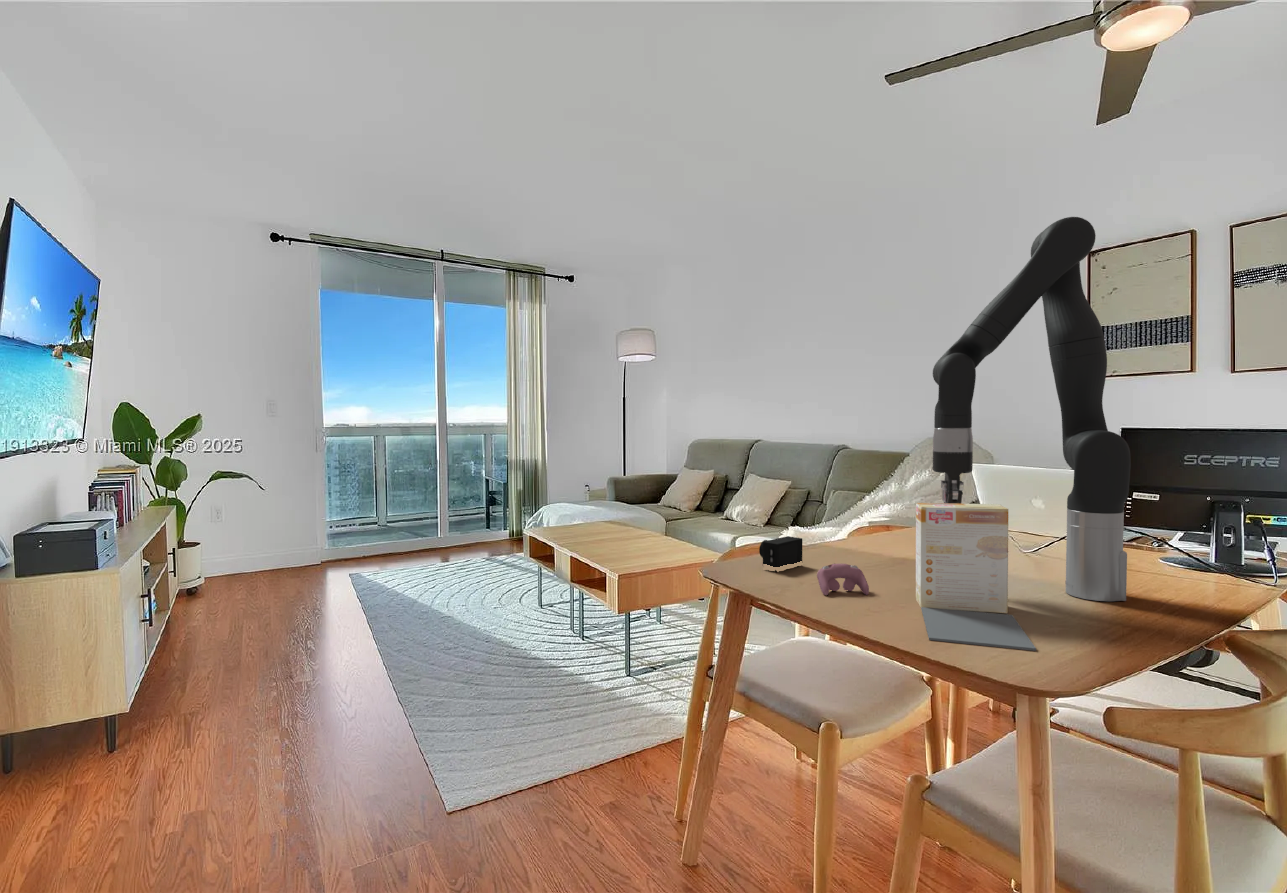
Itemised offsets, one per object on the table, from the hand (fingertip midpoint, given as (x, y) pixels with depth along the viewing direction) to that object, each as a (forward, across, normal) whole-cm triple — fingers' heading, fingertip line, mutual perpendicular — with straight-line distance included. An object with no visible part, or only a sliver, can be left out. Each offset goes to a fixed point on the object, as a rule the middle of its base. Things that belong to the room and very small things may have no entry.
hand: (951, 531), depth 131 cm
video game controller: (+12, -11, +22) cm, 27 cm away
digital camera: (+12, +8, +37) cm, 39 cm away
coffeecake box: (+12, -14, 0) cm, 18 cm away
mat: (+12, -27, -1) cm, 29 cm away
